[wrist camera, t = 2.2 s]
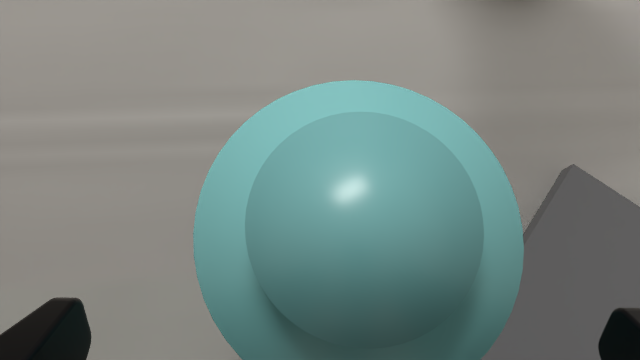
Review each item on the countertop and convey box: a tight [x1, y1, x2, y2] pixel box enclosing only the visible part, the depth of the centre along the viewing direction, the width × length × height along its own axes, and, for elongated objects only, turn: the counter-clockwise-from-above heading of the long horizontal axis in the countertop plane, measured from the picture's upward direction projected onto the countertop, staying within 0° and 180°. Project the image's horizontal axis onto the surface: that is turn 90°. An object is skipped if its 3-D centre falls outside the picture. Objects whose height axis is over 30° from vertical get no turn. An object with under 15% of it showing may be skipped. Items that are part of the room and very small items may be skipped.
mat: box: [480, 164, 640, 360], centre depth 17 cm, size 10×10×1 cm
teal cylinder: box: [193, 80, 524, 360], centre depth 11 cm, size 6×6×10 cm
